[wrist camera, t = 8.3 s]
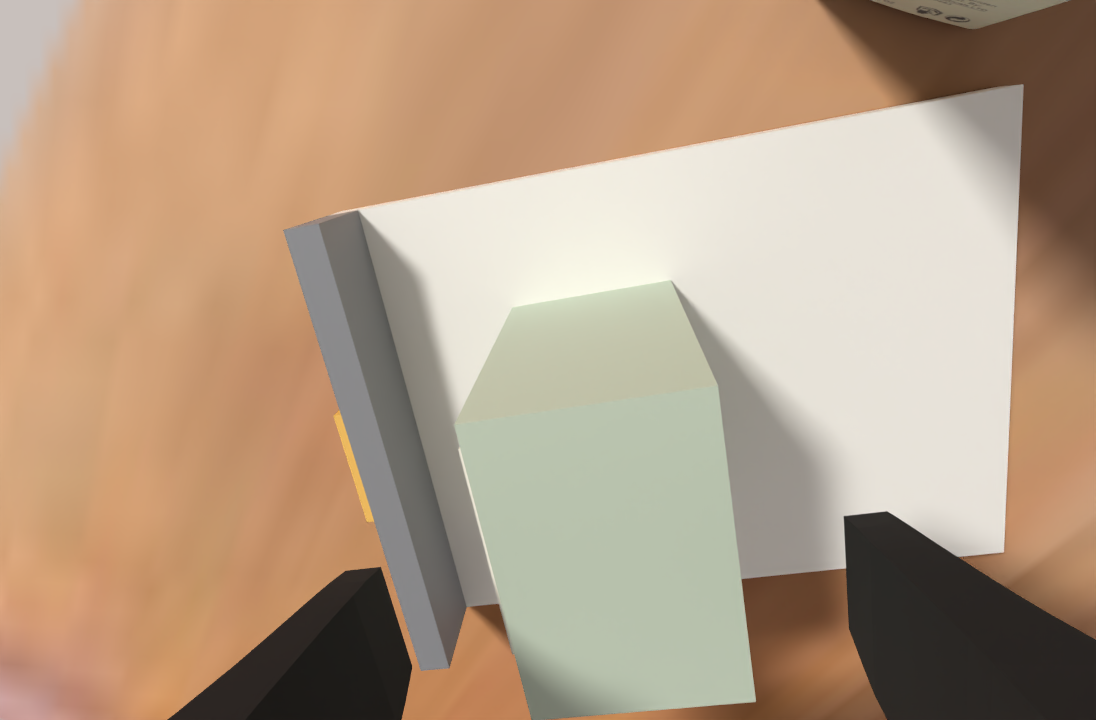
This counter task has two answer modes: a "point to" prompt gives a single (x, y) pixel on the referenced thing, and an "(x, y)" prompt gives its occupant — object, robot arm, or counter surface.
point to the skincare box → (970, 10)
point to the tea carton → (608, 507)
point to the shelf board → (704, 329)
